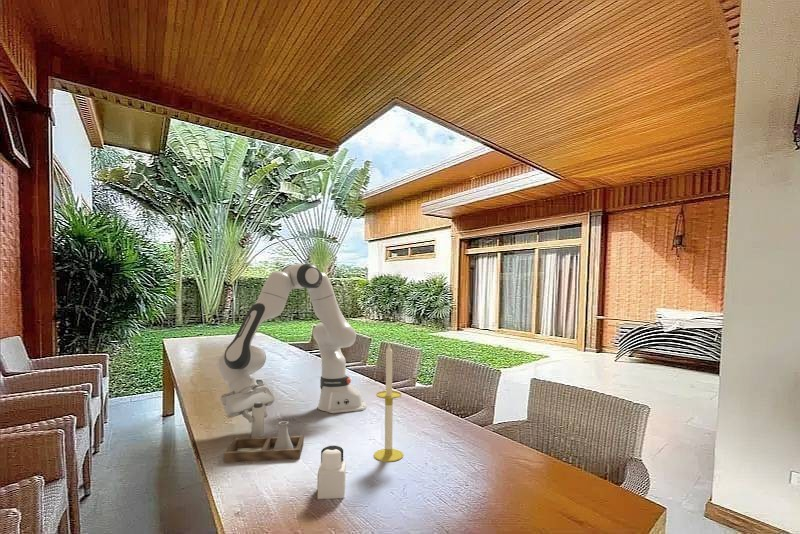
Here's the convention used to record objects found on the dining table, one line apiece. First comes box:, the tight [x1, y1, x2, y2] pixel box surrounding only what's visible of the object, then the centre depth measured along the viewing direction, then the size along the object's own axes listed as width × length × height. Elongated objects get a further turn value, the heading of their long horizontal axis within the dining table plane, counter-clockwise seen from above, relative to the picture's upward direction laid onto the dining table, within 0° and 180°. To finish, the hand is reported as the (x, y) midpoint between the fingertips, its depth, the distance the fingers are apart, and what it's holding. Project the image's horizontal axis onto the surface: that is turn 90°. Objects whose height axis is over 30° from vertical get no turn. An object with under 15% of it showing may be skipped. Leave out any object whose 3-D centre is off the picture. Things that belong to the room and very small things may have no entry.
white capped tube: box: [251, 402, 265, 438], centre depth 154 cm, size 4×4×12 cm
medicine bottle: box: [316, 445, 347, 500], centre depth 113 cm, size 7×7×12 cm
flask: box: [272, 420, 295, 450], centre depth 139 cm, size 7×7×10 cm
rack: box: [223, 435, 305, 464], centre depth 138 cm, size 24×12×3 cm, turn 97°
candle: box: [373, 344, 404, 463], centre depth 138 cm, size 10×10×38 cm
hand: (259, 419), depth 153 cm, fingers closed on white capped tube, 4 cm apart
